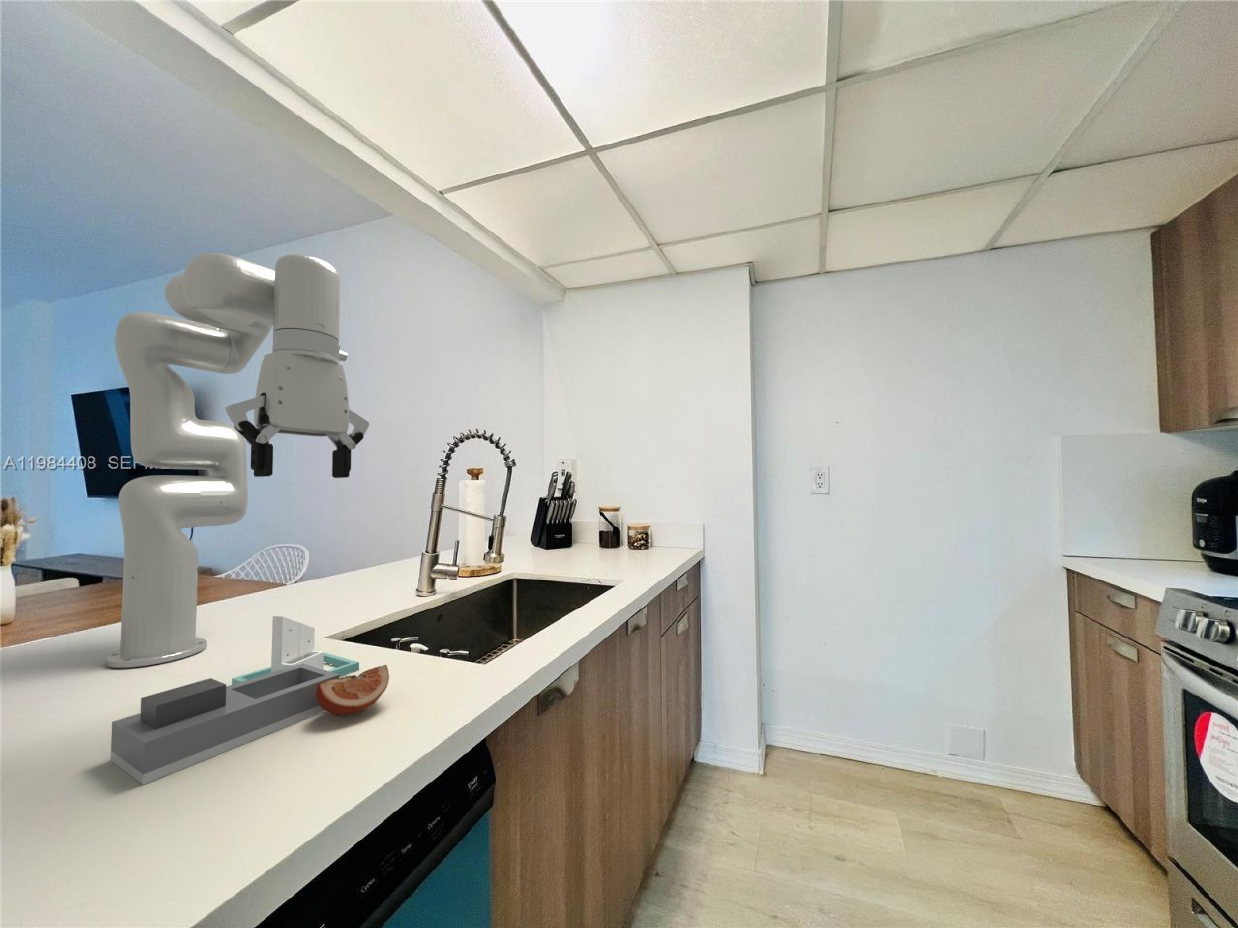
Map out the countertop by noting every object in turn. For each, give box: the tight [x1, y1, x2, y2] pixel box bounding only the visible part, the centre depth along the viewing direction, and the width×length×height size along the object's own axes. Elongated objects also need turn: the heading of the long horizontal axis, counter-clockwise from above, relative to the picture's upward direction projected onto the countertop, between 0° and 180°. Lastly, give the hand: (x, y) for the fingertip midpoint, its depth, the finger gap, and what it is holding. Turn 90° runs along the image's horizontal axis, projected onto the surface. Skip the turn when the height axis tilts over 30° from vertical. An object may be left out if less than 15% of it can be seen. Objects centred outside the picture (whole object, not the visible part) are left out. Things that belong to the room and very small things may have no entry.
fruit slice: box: [316, 664, 390, 717], centre depth 60 cm, size 8×7×5 cm
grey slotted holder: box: [110, 663, 341, 786], centre depth 56 cm, size 9×19×6 cm, turn 151°
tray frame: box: [231, 652, 360, 685], centre depth 72 cm, size 11×13×1 cm
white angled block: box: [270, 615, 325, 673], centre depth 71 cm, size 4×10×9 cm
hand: (304, 476), depth 63 cm, fingers open, 9 cm apart
